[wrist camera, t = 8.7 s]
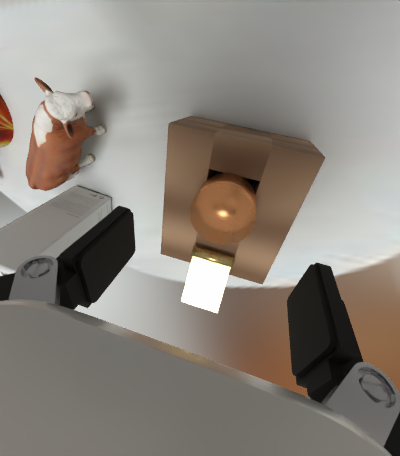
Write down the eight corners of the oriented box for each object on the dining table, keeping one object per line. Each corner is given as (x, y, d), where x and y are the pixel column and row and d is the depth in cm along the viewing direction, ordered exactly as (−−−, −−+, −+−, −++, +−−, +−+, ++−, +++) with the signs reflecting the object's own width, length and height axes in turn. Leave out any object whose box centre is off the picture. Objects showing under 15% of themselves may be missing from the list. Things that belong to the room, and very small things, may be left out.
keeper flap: (194, 244, 22) (192, 247, 21) (235, 256, 22) (234, 259, 21) (182, 295, 23) (179, 300, 22) (219, 307, 23) (219, 313, 22)
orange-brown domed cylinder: (215, 151, 22) (193, 178, 15) (264, 162, 21) (264, 196, 15) (207, 195, 25) (186, 235, 18) (250, 206, 24) (244, 251, 17)
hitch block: (190, 116, 21) (168, 123, 16) (310, 141, 20) (325, 157, 15) (178, 227, 29) (160, 253, 24) (262, 250, 28) (262, 284, 23)
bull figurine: (134, 102, 22) (78, 107, 15) (84, 180, 29) (32, 206, 23) (101, 66, 21) (26, 54, 14) (58, 156, 28) (-5, 176, 22)
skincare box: (76, 184, 30) (-51, 246, 18) (114, 197, 29) (10, 270, 17) (82, 229, 35) (-15, 302, 23) (115, 241, 34) (34, 322, 22)
